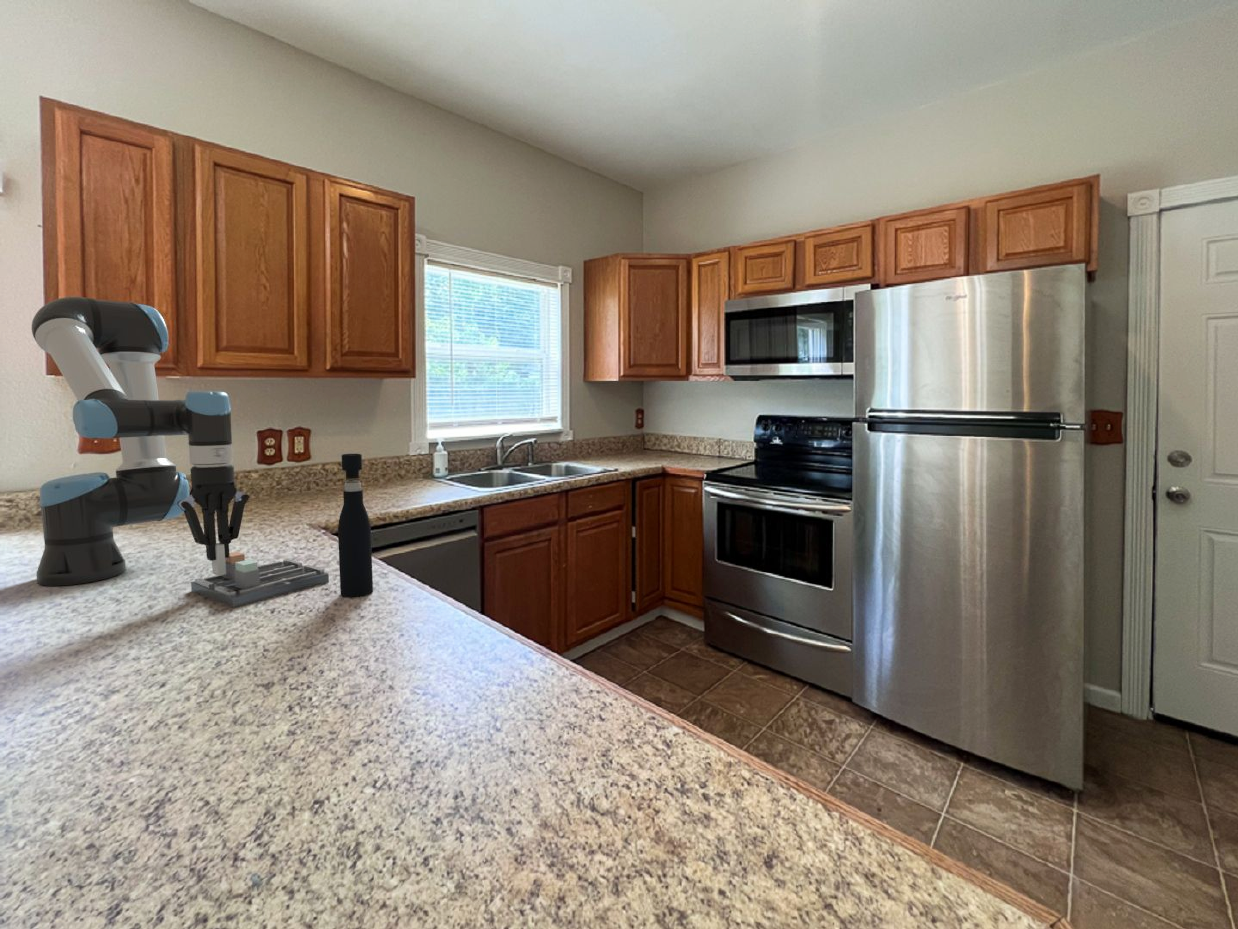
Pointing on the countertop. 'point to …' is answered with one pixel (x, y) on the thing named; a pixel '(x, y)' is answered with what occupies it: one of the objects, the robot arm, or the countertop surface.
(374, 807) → the countertop surface
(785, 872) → the countertop surface
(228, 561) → the knob
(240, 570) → the knob
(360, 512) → the black water bottle
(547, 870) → the countertop surface
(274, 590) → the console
